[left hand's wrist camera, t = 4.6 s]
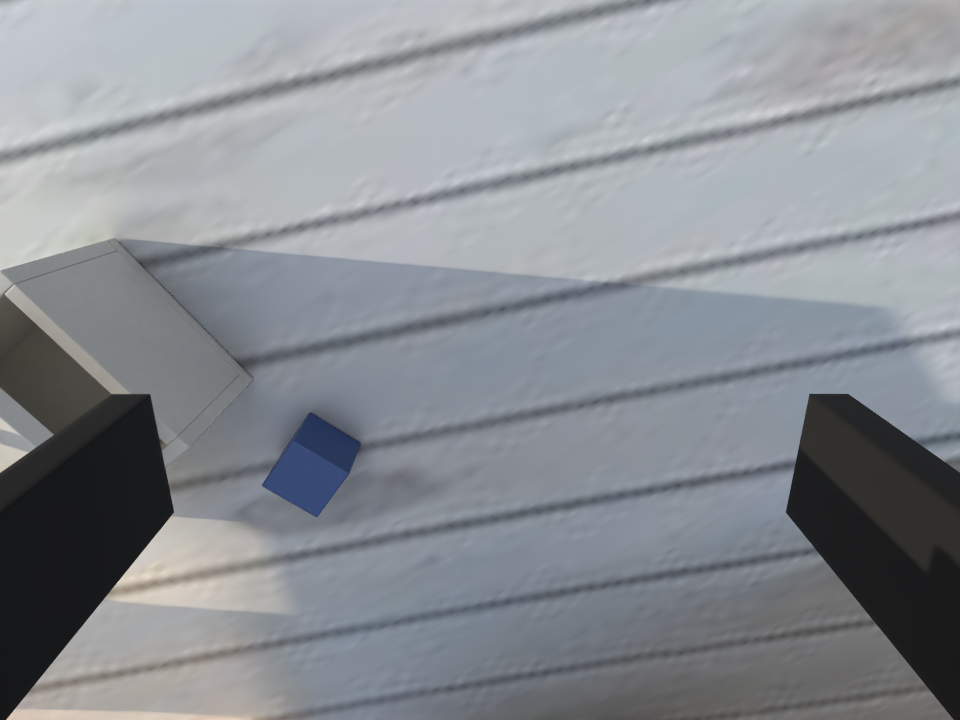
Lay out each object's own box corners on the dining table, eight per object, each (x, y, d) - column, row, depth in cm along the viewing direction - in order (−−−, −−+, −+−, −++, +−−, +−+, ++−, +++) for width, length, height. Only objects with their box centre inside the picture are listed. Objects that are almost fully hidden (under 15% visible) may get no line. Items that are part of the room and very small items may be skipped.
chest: (114, 237, 39) (-1, 269, 30) (253, 379, 42) (189, 448, 33) (-49, 392, 42) (-197, 464, 33) (90, 511, 46) (-9, 606, 36)
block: (310, 412, 43) (293, 439, 39) (361, 442, 44) (349, 473, 40) (280, 454, 44) (261, 486, 40) (330, 484, 45) (316, 517, 41)
